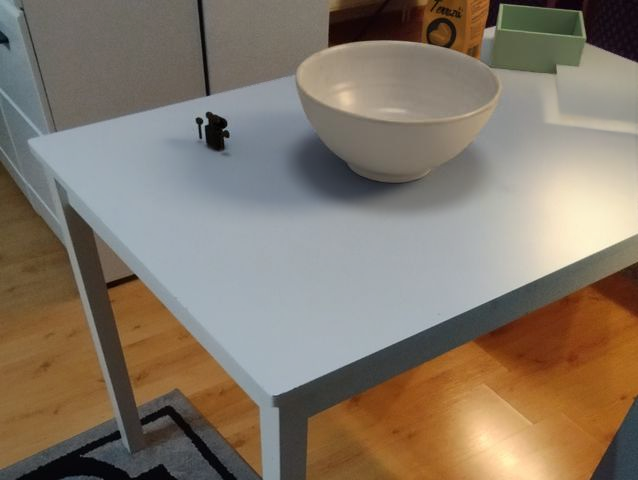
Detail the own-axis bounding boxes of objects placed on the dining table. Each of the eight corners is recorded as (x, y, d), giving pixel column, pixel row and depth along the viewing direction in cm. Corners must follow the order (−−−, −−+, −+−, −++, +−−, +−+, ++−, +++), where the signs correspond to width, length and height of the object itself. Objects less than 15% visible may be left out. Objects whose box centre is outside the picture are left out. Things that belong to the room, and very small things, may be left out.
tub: (572, 46, 133) (581, 11, 128) (576, 76, 122) (586, 38, 117) (493, 38, 135) (500, 3, 130) (490, 67, 124) (497, 29, 120)
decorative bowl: (277, 128, 104) (276, 46, 95) (441, 113, 109) (453, 34, 101) (322, 223, 85) (324, 131, 77) (517, 199, 90) (540, 110, 82)
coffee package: (406, 76, 120) (422, -68, 105) (436, 55, 128) (455, -82, 113) (458, 89, 116) (483, -58, 101) (486, 66, 124) (512, -73, 109)
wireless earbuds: (195, 141, 100) (191, 107, 97) (208, 135, 102) (205, 102, 98) (227, 157, 97) (224, 123, 93) (240, 151, 98) (238, 117, 95)
